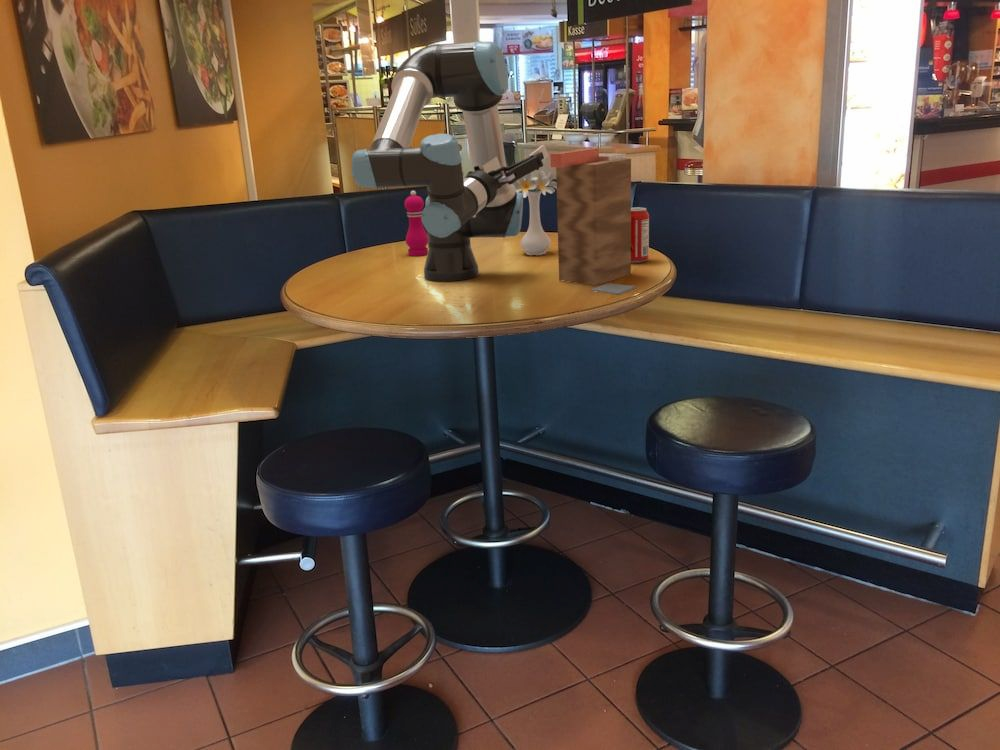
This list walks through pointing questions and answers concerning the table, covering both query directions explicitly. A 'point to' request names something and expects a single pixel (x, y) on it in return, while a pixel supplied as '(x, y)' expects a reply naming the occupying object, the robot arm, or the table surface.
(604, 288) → the tile
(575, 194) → the stand
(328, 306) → the table surface
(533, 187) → the flower vase
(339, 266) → the table surface
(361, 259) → the table surface
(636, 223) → the soda can
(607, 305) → the table surface
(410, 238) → the pepper mill
